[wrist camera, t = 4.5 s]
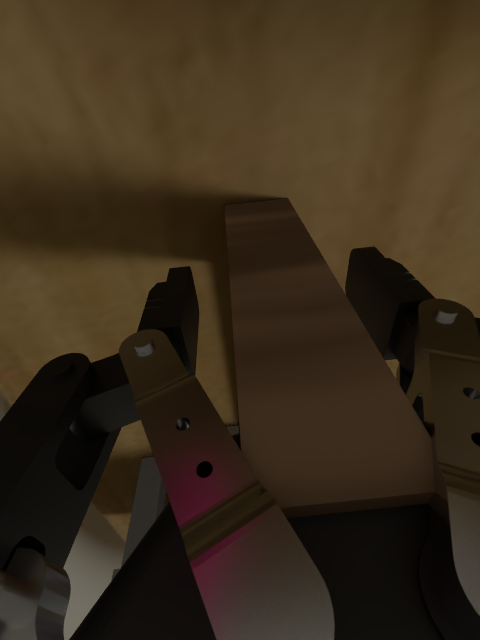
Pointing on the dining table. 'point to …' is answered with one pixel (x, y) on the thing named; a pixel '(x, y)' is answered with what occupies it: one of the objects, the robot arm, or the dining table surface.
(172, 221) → the dining table surface
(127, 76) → the dining table surface
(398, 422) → the brown wooden angled piece
